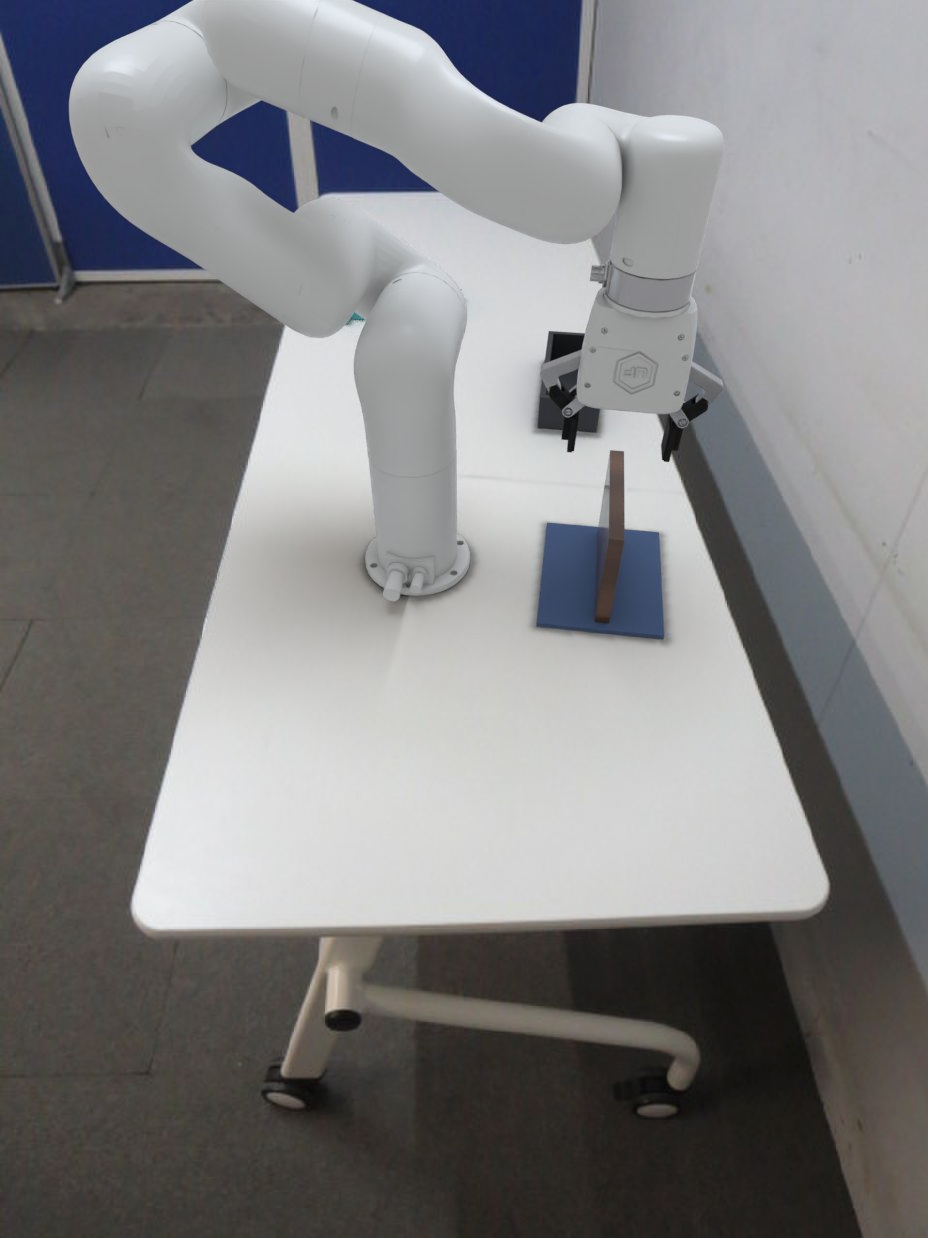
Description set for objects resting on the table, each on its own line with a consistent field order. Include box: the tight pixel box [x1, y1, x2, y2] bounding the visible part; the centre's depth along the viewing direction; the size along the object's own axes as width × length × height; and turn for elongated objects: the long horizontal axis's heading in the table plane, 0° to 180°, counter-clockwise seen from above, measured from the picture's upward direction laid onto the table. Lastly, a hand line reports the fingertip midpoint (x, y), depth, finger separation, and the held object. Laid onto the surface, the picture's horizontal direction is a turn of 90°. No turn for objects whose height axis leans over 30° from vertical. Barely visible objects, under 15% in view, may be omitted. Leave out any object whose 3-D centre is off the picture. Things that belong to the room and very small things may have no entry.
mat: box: [535, 522, 665, 640], centre depth 95 cm, size 18×14×1 cm
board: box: [595, 449, 626, 623], centre depth 90 cm, size 16×2×12 cm, turn 172°
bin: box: [537, 330, 601, 434], centre depth 122 cm, size 21×9×6 cm, turn 172°
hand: (617, 449), depth 82 cm, fingers open, 9 cm apart
